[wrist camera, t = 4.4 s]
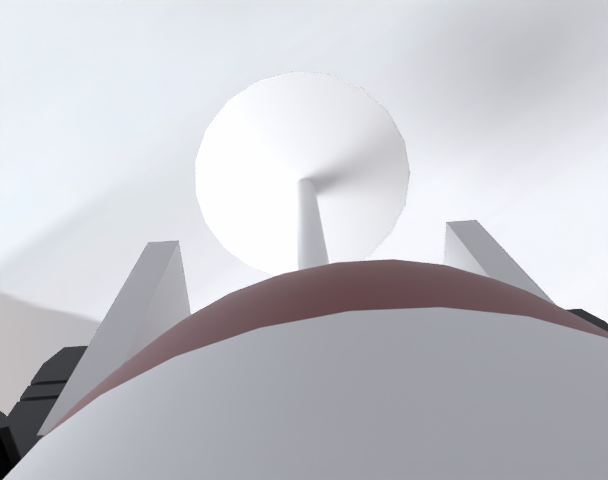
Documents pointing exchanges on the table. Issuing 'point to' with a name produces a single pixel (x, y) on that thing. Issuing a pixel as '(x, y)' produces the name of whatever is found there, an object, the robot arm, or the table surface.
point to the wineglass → (337, 332)
